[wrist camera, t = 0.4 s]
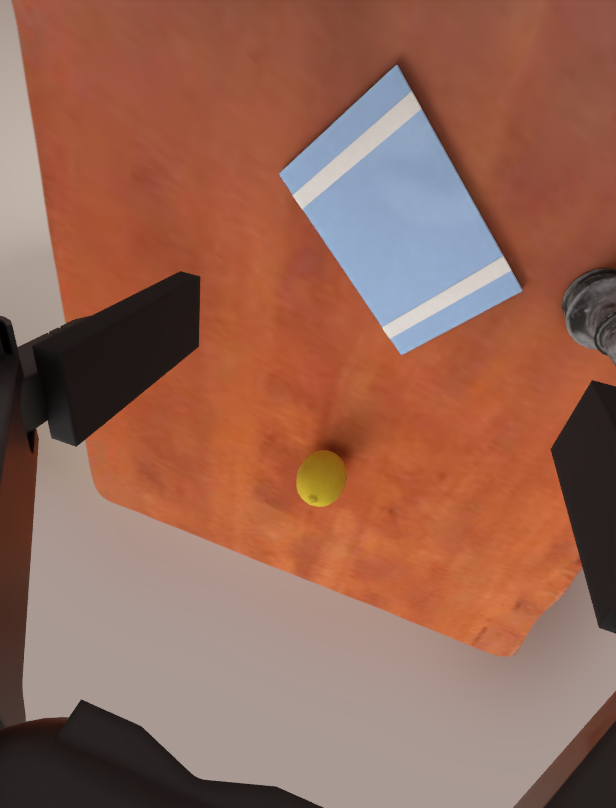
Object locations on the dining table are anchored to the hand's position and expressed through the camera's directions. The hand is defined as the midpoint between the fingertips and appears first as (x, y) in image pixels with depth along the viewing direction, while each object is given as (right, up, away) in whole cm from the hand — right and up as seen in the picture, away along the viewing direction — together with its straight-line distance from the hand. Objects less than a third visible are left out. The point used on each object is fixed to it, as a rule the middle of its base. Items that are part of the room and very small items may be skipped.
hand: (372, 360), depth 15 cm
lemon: (+1, -8, +39) cm, 40 cm away
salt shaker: (+22, +7, +22) cm, 32 cm away
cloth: (+6, +14, +24) cm, 28 cm away
